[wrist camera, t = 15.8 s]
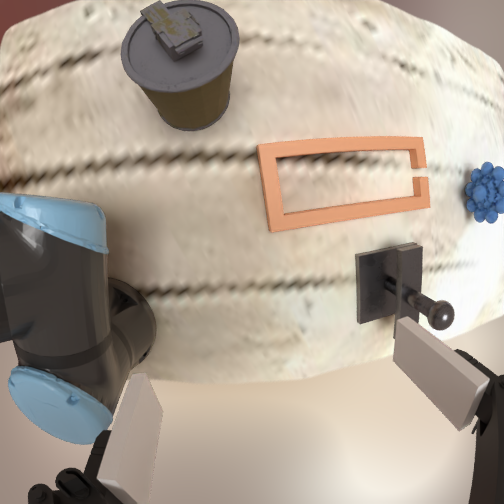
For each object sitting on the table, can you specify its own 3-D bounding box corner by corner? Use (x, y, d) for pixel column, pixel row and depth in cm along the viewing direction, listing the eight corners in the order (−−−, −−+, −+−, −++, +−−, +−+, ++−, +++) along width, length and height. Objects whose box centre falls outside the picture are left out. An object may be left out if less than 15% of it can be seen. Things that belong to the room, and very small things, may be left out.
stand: (357, 328, 46) (408, 382, 30) (354, 245, 43) (421, 276, 27) (410, 311, 47) (467, 352, 31) (412, 233, 44) (483, 256, 28)
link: (269, 230, 41) (271, 232, 39) (256, 146, 38) (258, 144, 36) (423, 206, 43) (430, 207, 41) (415, 138, 40) (422, 137, 38)
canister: (243, 105, 36) (268, 39, 17) (180, 145, 37) (147, 106, 17) (203, 52, 34) (197, -34, 14) (142, 89, 34) (91, 24, 15)
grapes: (451, 160, 42) (497, 160, 30) (471, 162, 43) (514, 163, 31) (453, 221, 45) (498, 231, 33) (472, 218, 45) (515, 228, 34)
